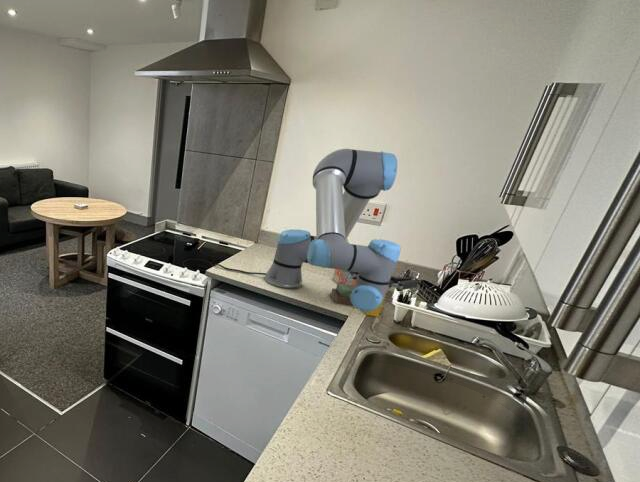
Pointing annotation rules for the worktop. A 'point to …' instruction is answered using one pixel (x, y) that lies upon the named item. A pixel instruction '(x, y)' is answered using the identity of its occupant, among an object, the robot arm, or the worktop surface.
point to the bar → (377, 310)
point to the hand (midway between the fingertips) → (385, 269)
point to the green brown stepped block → (342, 294)
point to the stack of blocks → (344, 277)
